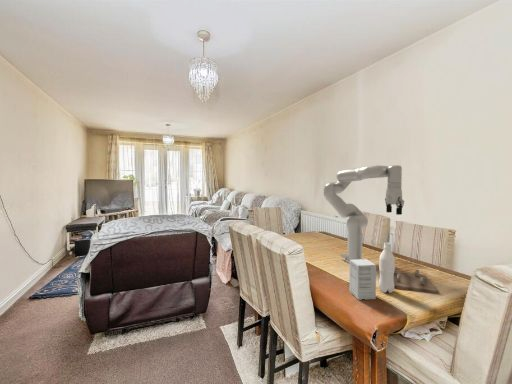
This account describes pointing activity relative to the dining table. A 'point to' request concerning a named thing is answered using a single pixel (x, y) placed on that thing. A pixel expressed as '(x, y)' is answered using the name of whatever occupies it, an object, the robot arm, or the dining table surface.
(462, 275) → the dining table surface
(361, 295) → the supplement box
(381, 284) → the water bottle
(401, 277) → the peg stand
